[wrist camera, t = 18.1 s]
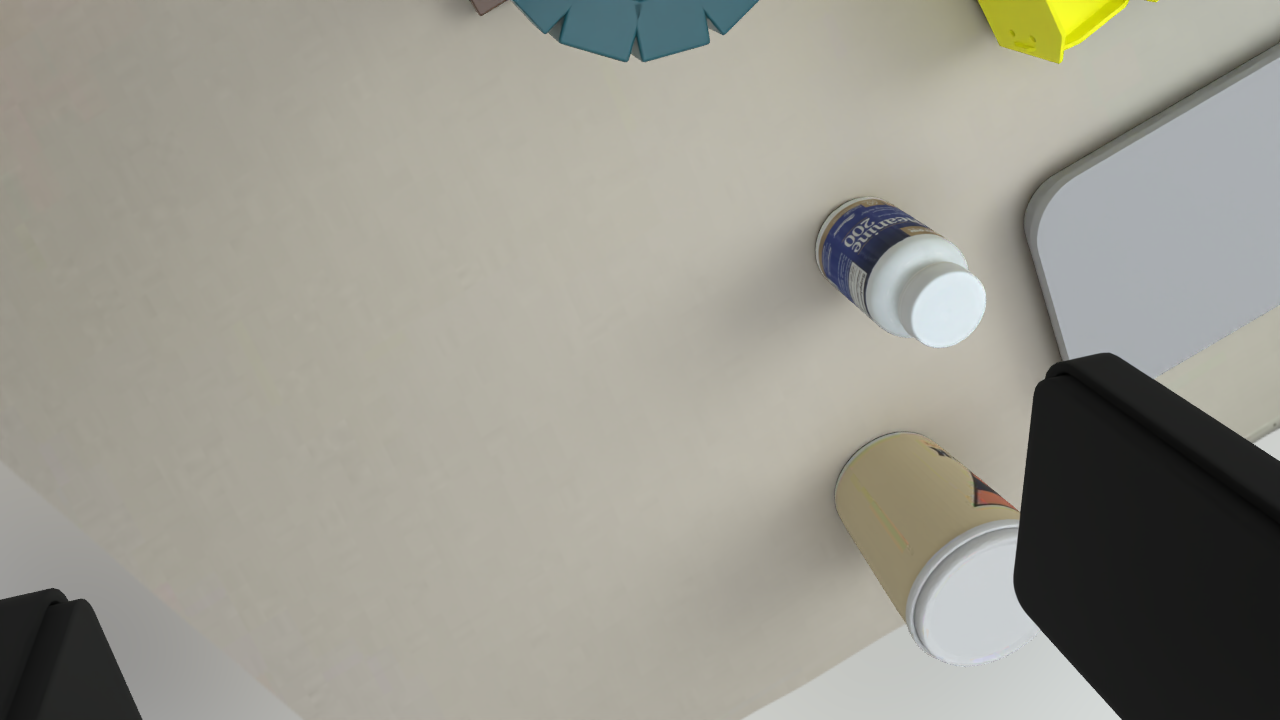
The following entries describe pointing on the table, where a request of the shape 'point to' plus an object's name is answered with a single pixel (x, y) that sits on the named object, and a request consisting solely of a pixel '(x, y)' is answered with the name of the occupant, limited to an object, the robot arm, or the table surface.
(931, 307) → the pill bottle
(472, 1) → the stand
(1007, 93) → the table surface
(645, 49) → the ring
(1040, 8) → the yellow toy chassis
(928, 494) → the beige lidded canister
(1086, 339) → the tablet
